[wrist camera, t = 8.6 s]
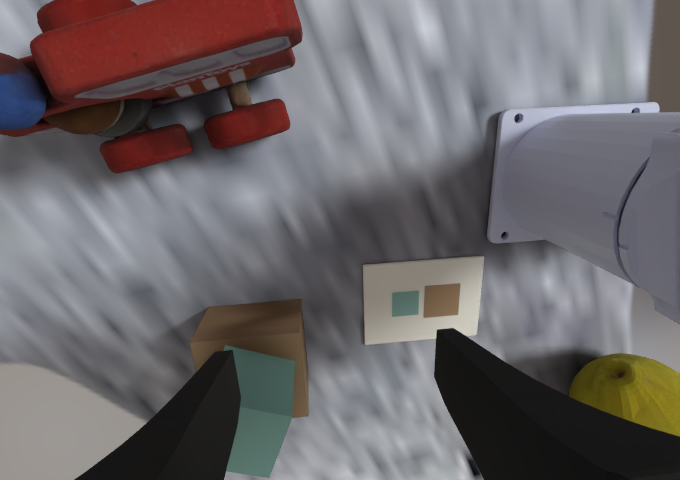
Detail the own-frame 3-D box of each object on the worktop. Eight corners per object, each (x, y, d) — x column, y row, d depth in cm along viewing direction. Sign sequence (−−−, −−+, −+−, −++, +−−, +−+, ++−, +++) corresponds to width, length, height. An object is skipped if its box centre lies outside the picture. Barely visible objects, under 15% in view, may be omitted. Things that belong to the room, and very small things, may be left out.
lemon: (650, 403, 29) (770, 504, 21) (561, 440, 29) (648, 551, 22) (631, 301, 25) (767, 378, 18) (530, 344, 26) (621, 438, 18)
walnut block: (301, 297, 23) (299, 332, 19) (308, 371, 25) (308, 415, 21) (208, 305, 23) (189, 342, 19) (223, 379, 25) (208, 426, 21)
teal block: (295, 361, 20) (292, 417, 16) (276, 413, 21) (269, 478, 17) (225, 345, 19) (205, 400, 16) (209, 401, 20) (187, 464, 17)
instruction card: (482, 255, 23) (484, 256, 23) (475, 333, 25) (476, 335, 25) (362, 264, 23) (363, 266, 22) (364, 343, 25) (365, 345, 24)
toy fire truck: (38, 40, 17) (-317, -62, 7) (282, -22, 17) (249, -205, 7) (103, 178, 20) (-102, 237, 10) (318, 123, 20) (328, 128, 10)
